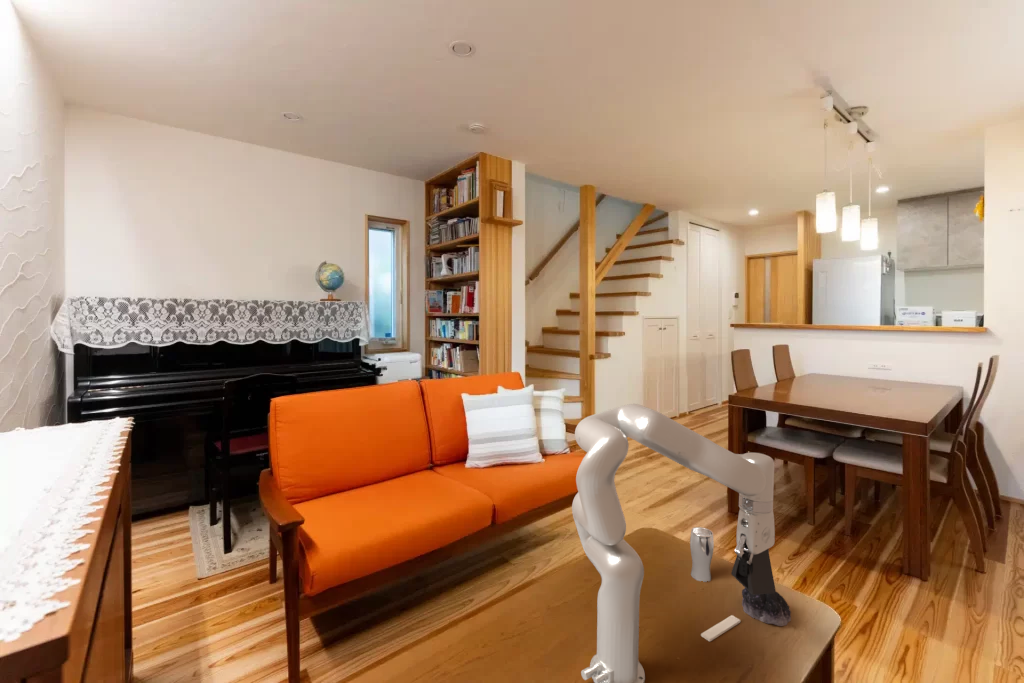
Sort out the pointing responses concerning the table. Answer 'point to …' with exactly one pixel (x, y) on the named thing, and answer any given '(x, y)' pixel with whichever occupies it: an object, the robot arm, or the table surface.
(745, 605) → the black rock
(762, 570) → the phone stand
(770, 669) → the table surface
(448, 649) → the table surface
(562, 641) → the table surface
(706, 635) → the cream panel
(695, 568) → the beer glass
